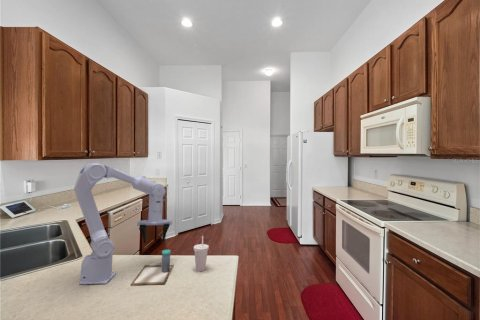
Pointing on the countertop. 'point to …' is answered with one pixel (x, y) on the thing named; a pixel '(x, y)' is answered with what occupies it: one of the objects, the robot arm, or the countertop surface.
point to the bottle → (166, 260)
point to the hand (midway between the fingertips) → (154, 241)
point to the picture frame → (152, 275)
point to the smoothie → (200, 256)
